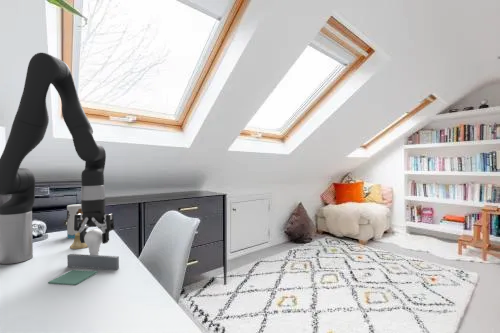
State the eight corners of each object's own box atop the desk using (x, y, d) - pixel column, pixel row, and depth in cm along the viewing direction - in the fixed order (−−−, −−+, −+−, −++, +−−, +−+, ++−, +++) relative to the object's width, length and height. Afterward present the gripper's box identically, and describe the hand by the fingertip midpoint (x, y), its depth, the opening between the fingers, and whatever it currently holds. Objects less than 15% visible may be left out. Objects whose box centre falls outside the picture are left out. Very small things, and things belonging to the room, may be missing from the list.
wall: (67, 266, 91) (67, 255, 91) (70, 265, 92) (70, 253, 92) (116, 269, 88) (116, 257, 88) (118, 268, 89) (118, 256, 89)
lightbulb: (95, 263, 94) (94, 231, 94) (80, 262, 95) (79, 231, 95) (107, 257, 100) (107, 227, 100) (93, 256, 101) (93, 227, 101)
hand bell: (76, 250, 108) (75, 210, 108) (65, 247, 112) (65, 209, 112) (96, 244, 115) (96, 207, 115) (86, 242, 119) (86, 206, 119)
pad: (48, 283, 78) (48, 282, 78) (72, 271, 87) (72, 269, 87) (75, 285, 77) (75, 283, 77) (97, 272, 86) (97, 271, 86)
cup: (87, 234, 132) (86, 204, 131) (77, 238, 125) (76, 206, 125) (74, 234, 132) (74, 204, 132) (63, 238, 126) (63, 206, 125)
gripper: (67, 199, 94) (68, 245, 94) (104, 199, 92) (105, 246, 92) (83, 196, 102) (84, 239, 102) (118, 196, 100) (119, 240, 100)
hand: (94, 242), depth 97 cm, fingers open, 8 cm apart
